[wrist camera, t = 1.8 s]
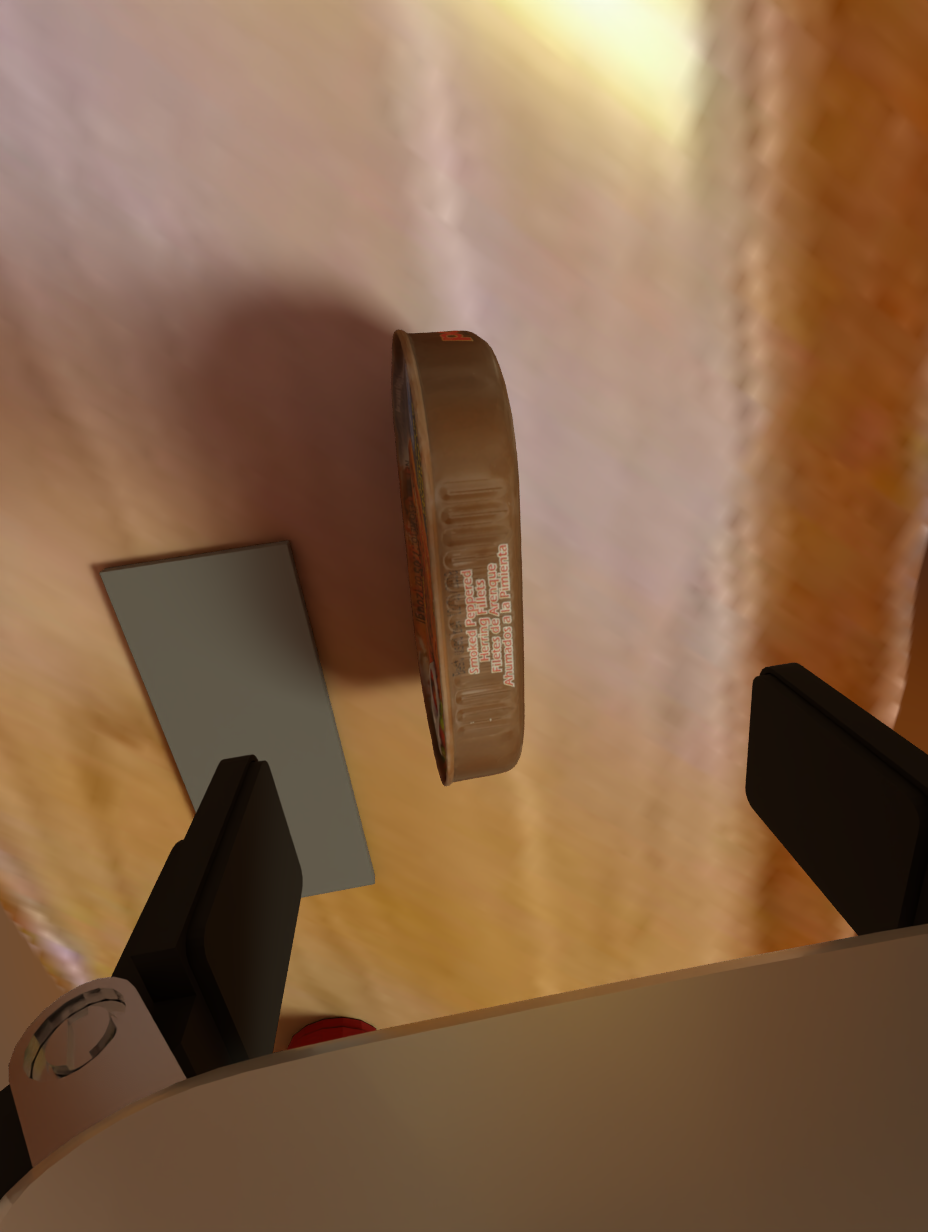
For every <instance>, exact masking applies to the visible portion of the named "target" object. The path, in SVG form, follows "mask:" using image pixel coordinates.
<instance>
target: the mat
mask: <svg viewBox="0 0 928 1232" xmlns="http://www.w3.org/2000/svg"><path fill="white" fill-rule="evenodd" d="M100 576H101V578H102V580H103V583H104V585H105V588H106V590H107V593H108V595H109V598H110V600H111V603H112V605H113V608H114V610H115V613H116V615H117V618H118V620H119V623H120V625H121V628H122V630H123V633H124V635H125V638H126V640H127V643H128V645H129V648H130V650H131V652H132V655H133V657H134V660H135V662H136V665H137V667H138V670H139V672H140V675H141V677H142V680H143V682H144V685H145V687H146V690H147V692H148V695H149V697H150V700H151V702H152V705H153V707H154V710H155V712H156V715H157V717H158V720H159V722H160V724H161V727H162V729H163V732H164V734H165V737H166V739H167V742H168V744H169V747H170V749H171V752H172V754H173V757H174V759H175V762H176V764H177V767H178V769H179V772H180V774H181V777H182V779H183V782H184V784H185V787H186V789H187V792H188V794H189V796H190V799H191V801H192V804H193V806H194V809H195V811H196V812H197V810H198V808H199V806H200V803H201V801H202V799H203V797H204V795H205V793H206V790H207V788H208V786H209V784H210V782H211V780H212V777H213V775H214V773H215V771H216V769H217V766H218V764H219V763H220V761H221V760H223V759H228V758H234V757H239V756H245V755H251V754H253V755H255V756H256V757H257V759H258V761H263V760H266V761H267V762H268V764H269V767H270V770H271V773H272V776H273V779H274V782H275V786H276V789H277V792H278V795H279V798H280V802H281V805H282V808H283V811H284V815H285V818H286V821H287V824H288V827H289V831H290V834H291V837H292V840H293V844H294V847H295V850H296V853H297V856H298V860H299V863H300V866H301V870H302V876H303V888H302V894H301V898H302V897H307V896H313V895H318V894H323V893H329V892H334V891H339V890H345V889H350V888H355V887H361V886H366V885H371V884H375V874H374V870H373V867H372V863H371V859H370V855H369V851H368V847H367V843H366V839H365V835H364V831H363V828H362V824H361V820H360V816H359V812H358V808H357V804H356V800H355V796H354V792H353V789H352V785H351V781H350V777H349V773H348V769H347V765H346V761H345V757H344V753H343V750H342V746H341V742H340V738H339V734H338V730H337V726H336V722H335V718H334V714H333V711H332V707H331V703H330V699H329V695H328V691H327V687H326V683H325V679H324V675H323V672H322V668H321V664H320V660H319V656H318V652H317V648H316V644H315V640H314V636H313V633H312V629H311V625H310V621H309V617H308V613H307V609H306V605H305V601H304V597H303V594H302V590H301V586H300V582H299V578H298V574H297V570H296V566H295V562H294V558H293V555H292V551H291V547H290V543H289V540H288V541H281V542H275V543H268V544H262V545H255V546H249V547H242V548H236V549H229V550H222V551H216V552H209V553H203V554H196V555H190V556H183V557H177V558H170V559H164V560H157V561H151V562H144V563H138V564H131V565H125V566H118V567H112V568H105V569H104V570H102V571H101V572H100Z"/></svg>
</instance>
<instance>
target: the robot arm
mask: <svg viewBox="0 0 928 1232" xmlns="http://www.w3.org/2000/svg"><path fill="white" fill-rule="evenodd" d="M745 789H746V796H747V799H748V801H749V803H750V805H751V807H752V808H753V810H754V811H755V812H756V813H757V814H758V816H759V817H760V818H761V819H762V820H763V822H764V823H765V824H766V825H767V826H768V828H769V829H770V830H771V831H772V832H773V834H774V835H775V836H776V837H777V838H778V840H779V841H780V842H781V843H782V844H783V846H784V847H785V848H786V849H787V850H788V852H789V853H790V854H791V855H792V856H793V858H794V859H795V860H796V861H797V862H798V864H799V865H800V866H801V867H802V868H803V870H804V871H805V872H806V873H807V875H808V876H809V877H810V878H811V879H812V881H813V882H814V883H815V884H816V885H817V887H818V888H819V889H820V890H821V891H822V893H823V894H824V895H825V896H826V897H827V899H828V900H829V901H830V902H831V903H832V905H833V906H834V907H835V908H836V909H837V911H838V912H839V913H840V914H841V915H842V917H843V918H844V919H845V920H846V921H847V923H848V924H849V925H850V926H851V927H852V929H853V930H854V931H855V932H856V933H857V935H858V936H855V937H850V938H845V939H839V940H834V941H829V942H823V943H818V944H813V945H808V946H802V947H797V948H792V949H786V950H781V951H776V952H770V953H765V954H760V955H755V956H749V957H744V958H739V959H733V960H728V961H723V962H718V963H713V964H708V965H702V966H697V967H692V968H687V969H682V970H677V971H672V972H666V973H661V974H656V975H651V976H646V977H641V978H636V979H630V980H625V981H620V982H615V983H610V984H605V985H600V986H595V987H590V988H585V989H579V990H574V991H569V992H564V993H559V994H554V995H549V996H544V997H539V998H534V999H529V1000H524V1001H519V1002H514V1003H509V1004H504V1005H499V1006H494V1007H489V1008H484V1009H479V1010H474V1011H469V1012H464V1013H459V1014H454V1015H449V1016H444V1017H440V1018H435V1019H430V1020H425V1021H420V1022H415V1023H410V1024H405V1025H400V1026H395V1027H390V1028H385V1029H380V1030H376V1031H371V1032H366V1033H362V1034H357V1035H353V1036H348V1037H344V1038H339V1039H335V1040H330V1041H326V1042H321V1043H316V1044H312V1045H307V1046H303V1047H298V1048H294V1049H289V1050H285V1051H280V1052H276V1053H273V1048H274V1042H275V1037H276V1031H277V1026H278V1020H279V1015H280V1009H281V1004H282V998H283V993H284V988H285V982H286V977H287V971H288V966H289V960H290V955H291V949H292V944H293V938H294V933H295V927H296V922H297V916H298V911H299V905H300V900H301V894H302V888H303V876H302V870H301V866H300V863H299V860H298V856H297V853H296V850H295V847H294V844H293V840H292V837H291V834H290V831H289V827H288V824H287V821H286V818H285V815H284V811H283V808H282V805H281V802H280V798H279V795H278V792H277V789H276V786H275V782H274V779H273V776H272V773H271V770H270V767H269V764H268V762H267V761H266V760H263V761H258V759H257V757H256V756H255V755H253V754H251V755H245V756H239V757H234V758H228V759H223V760H221V761H220V763H219V764H218V766H217V769H216V771H215V773H214V775H213V777H212V780H211V782H210V784H209V786H208V788H207V790H206V793H205V795H204V797H203V799H202V801H201V803H200V806H199V808H198V810H197V812H196V814H195V816H194V819H193V821H192V823H191V825H190V827H189V830H188V832H187V834H186V836H185V838H184V840H181V841H179V842H178V843H176V844H175V846H174V847H173V849H172V850H171V852H170V854H169V856H168V859H167V861H166V863H165V865H164V867H163V869H162V871H161V873H160V875H159V877H158V880H157V882H156V884H155V886H154V888H153V890H152V892H151V894H150V896H149V899H148V901H147V903H146V905H145V907H144V909H143V911H142V913H141V915H140V917H139V920H138V922H137V924H136V926H135V928H134V930H133V932H132V934H131V936H130V938H129V941H128V943H127V945H126V947H125V949H124V951H123V953H122V955H121V957H120V959H119V962H118V964H117V966H116V968H115V970H114V972H113V974H112V976H111V977H108V978H100V979H96V980H93V981H91V982H88V983H85V984H82V985H80V986H78V987H76V988H75V989H73V990H71V991H69V992H68V993H66V994H64V995H63V996H61V997H60V998H58V999H57V1000H56V1001H55V1002H53V1003H52V1004H51V1005H50V1006H49V1007H47V1008H46V1009H45V1010H44V1011H42V1013H41V1014H40V1015H39V1016H38V1017H37V1018H36V1019H35V1020H34V1021H33V1022H32V1023H31V1025H30V1026H29V1027H28V1028H27V1029H26V1031H25V1032H24V1034H23V1035H22V1037H21V1039H20V1040H19V1042H18V1043H17V1045H16V1046H15V1048H14V1051H13V1054H12V1057H11V1060H10V1063H9V1083H10V1084H9V1085H8V1086H7V1087H5V1088H4V1089H3V1090H2V1091H0V1232H928V755H927V754H926V753H924V752H923V751H922V750H920V749H919V748H917V747H916V746H915V745H913V744H912V743H910V742H909V741H907V740H906V739H905V738H903V737H902V736H900V735H899V734H897V733H896V732H895V731H893V730H892V729H891V728H889V727H888V726H886V725H885V724H883V723H882V722H881V721H879V720H878V719H876V718H875V717H874V716H872V715H871V714H869V713H868V712H866V711H865V710H864V709H862V708H861V707H859V706H858V705H857V704H855V703H854V702H852V701H851V700H849V699H848V698H847V697H845V696H844V695H842V694H841V693H840V692H838V691H837V690H835V689H834V688H832V687H831V686H830V685H828V684H827V683H825V682H824V681H823V680H821V679H820V678H818V677H817V676H815V675H814V674H813V673H811V672H810V671H808V670H807V669H806V668H804V667H803V666H801V665H800V664H798V663H788V664H782V665H776V666H770V667H765V668H764V669H762V671H761V673H760V676H757V677H755V679H754V680H753V686H752V700H751V715H750V729H749V743H748V757H747V772H746V786H745Z"/></svg>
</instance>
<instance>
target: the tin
mask: <svg viewBox="0 0 928 1232" xmlns="http://www.w3.org/2000/svg"><path fill="white" fill-rule="evenodd" d="M391 385H392V406H393V420H394V430H395V437H396V452H397V463H398V474H399V481H400V494H401V503H402V513H403V523H404V533H405V543H406V552H407V563H408V573H409V583H410V594H411V604H412V613H413V622H414V632H415V640H416V647H417V655H418V663H419V671H420V677H421V684H422V691H423V696H424V702H425V708H426V713H427V719H428V724H429V729H430V734H431V738H432V744H433V750H434V755H435V759H436V764H437V768H438V771H439V775H440V778H441V781H442V784H443V785H444V786H449V785H450V784H451V783H453V782H457V781H462V780H468V779H473V778H479V777H485V776H490V775H495V774H499V773H503V772H506V771H509V770H511V769H512V768H513V767H515V765H516V764H517V762H518V760H519V758H520V755H521V751H522V745H523V736H524V637H523V601H522V558H521V527H520V496H519V475H518V461H517V451H516V442H515V434H514V427H513V419H512V413H511V408H510V403H509V399H508V394H507V389H506V385H505V381H504V378H503V375H502V372H501V369H500V366H499V364H498V361H497V359H496V356H495V354H494V352H493V350H492V348H491V347H490V346H489V345H488V343H487V342H486V341H484V340H483V339H481V338H480V337H479V336H477V335H476V334H474V333H472V332H469V331H444V332H431V333H406V332H404V331H403V330H396V331H395V332H394V335H393V343H392V378H391Z"/></svg>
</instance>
